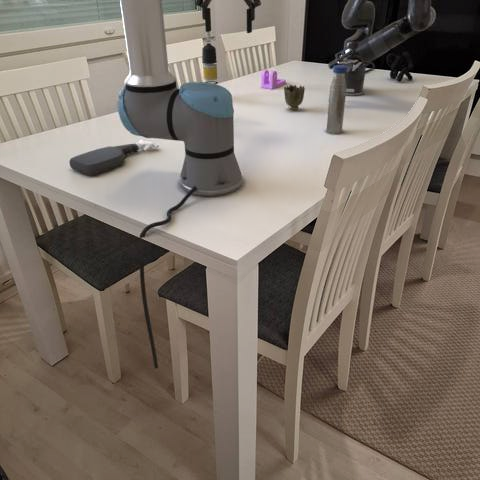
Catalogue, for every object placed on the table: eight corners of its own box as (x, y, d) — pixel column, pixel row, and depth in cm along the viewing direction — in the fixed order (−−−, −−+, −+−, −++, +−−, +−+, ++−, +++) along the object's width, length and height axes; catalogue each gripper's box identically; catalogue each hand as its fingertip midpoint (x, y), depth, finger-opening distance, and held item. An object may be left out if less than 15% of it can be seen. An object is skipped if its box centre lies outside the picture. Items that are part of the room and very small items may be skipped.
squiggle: (400, 92, 202) (376, 71, 205) (417, 76, 202) (392, 56, 205) (405, 81, 191) (380, 59, 194) (423, 64, 191) (397, 42, 194)
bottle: (338, 135, 139) (345, 70, 129) (323, 132, 141) (329, 68, 131) (344, 130, 143) (350, 67, 133) (329, 128, 145) (335, 65, 135)
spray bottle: (67, 168, 120) (139, 144, 136) (91, 178, 114) (163, 151, 130) (65, 157, 118) (137, 134, 134) (89, 167, 112) (162, 142, 128)
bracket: (272, 88, 190) (272, 71, 187) (261, 87, 193) (261, 70, 189) (288, 83, 199) (288, 66, 195) (277, 81, 202) (278, 65, 198)
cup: (280, 111, 162) (280, 88, 158) (287, 106, 167) (288, 84, 163) (299, 113, 159) (300, 90, 155) (306, 108, 164) (308, 85, 160)
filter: (220, 99, 177) (217, 15, 161) (206, 100, 176) (202, 16, 160) (215, 96, 182) (212, 14, 166) (202, 97, 180) (197, 14, 164)
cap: (344, 74, 130) (344, 68, 129) (330, 72, 132) (331, 67, 131) (348, 71, 133) (349, 65, 132) (335, 70, 135) (336, 64, 134)
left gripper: (272, -51, 127) (270, 31, 138) (192, -49, 134) (197, 29, 145) (264, -51, 121) (263, 34, 132) (181, -49, 128) (187, 32, 139)
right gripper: (382, 42, 158) (343, 65, 169) (362, 29, 148) (322, 55, 159) (387, 61, 157) (347, 83, 168) (367, 49, 147) (327, 74, 158)
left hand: (228, 32), depth 139 cm, fingers open, 13 cm apart
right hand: (335, 69), depth 164 cm, fingers open, 8 cm apart
